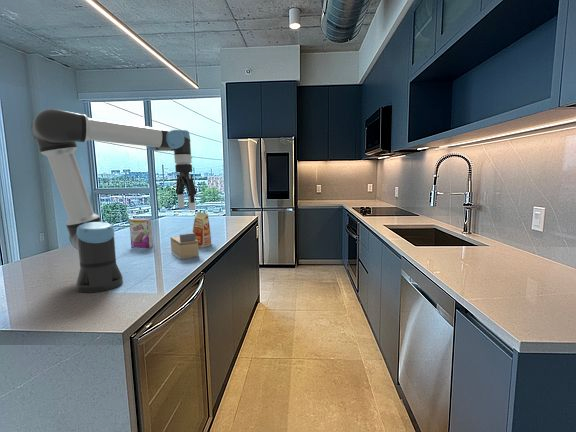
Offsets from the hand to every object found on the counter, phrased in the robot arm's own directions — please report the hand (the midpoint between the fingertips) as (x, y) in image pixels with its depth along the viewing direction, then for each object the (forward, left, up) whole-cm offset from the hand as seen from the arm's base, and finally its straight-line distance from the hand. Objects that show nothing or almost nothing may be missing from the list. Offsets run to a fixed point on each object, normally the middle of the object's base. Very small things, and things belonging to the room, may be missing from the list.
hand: (186, 208), depth 156 cm
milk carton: (+16, +27, -25) cm, 40 cm away
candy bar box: (-14, +43, -25) cm, 52 cm away
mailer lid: (+1, +11, -17) cm, 21 cm away
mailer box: (+1, +11, -25) cm, 27 cm away
